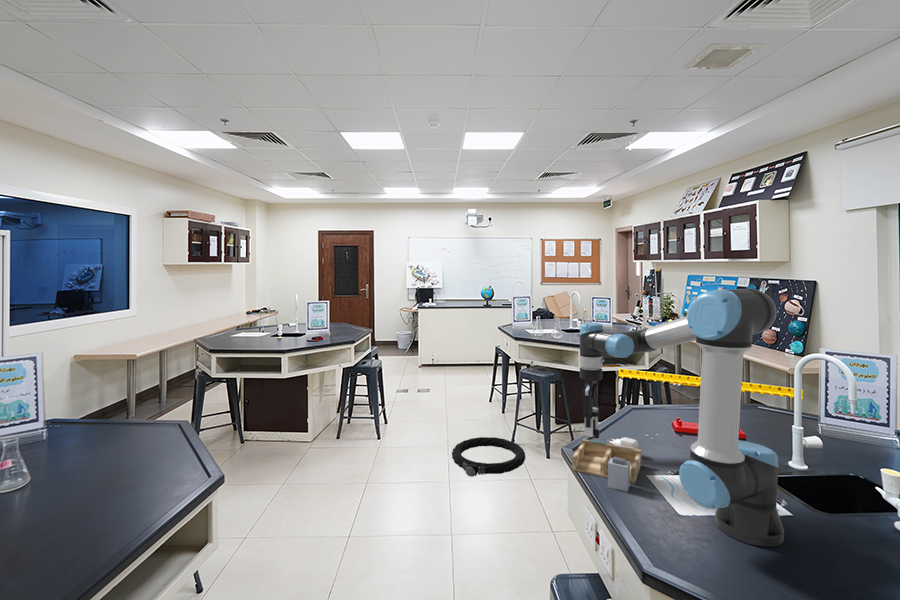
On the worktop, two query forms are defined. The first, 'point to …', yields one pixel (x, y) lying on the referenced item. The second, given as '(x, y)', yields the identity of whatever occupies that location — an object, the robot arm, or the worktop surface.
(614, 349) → the robot arm
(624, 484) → the block
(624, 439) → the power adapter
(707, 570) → the worktop surface
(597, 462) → the divided wooden rack
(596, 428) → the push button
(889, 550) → the worktop surface
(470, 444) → the cable lock
